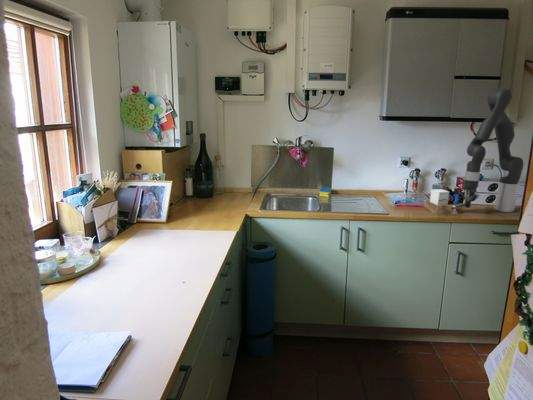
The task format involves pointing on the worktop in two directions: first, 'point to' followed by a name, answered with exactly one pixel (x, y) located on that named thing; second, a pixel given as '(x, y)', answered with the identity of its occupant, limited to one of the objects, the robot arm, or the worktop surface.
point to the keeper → (439, 208)
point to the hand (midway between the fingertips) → (467, 207)
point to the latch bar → (459, 205)
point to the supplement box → (439, 197)
